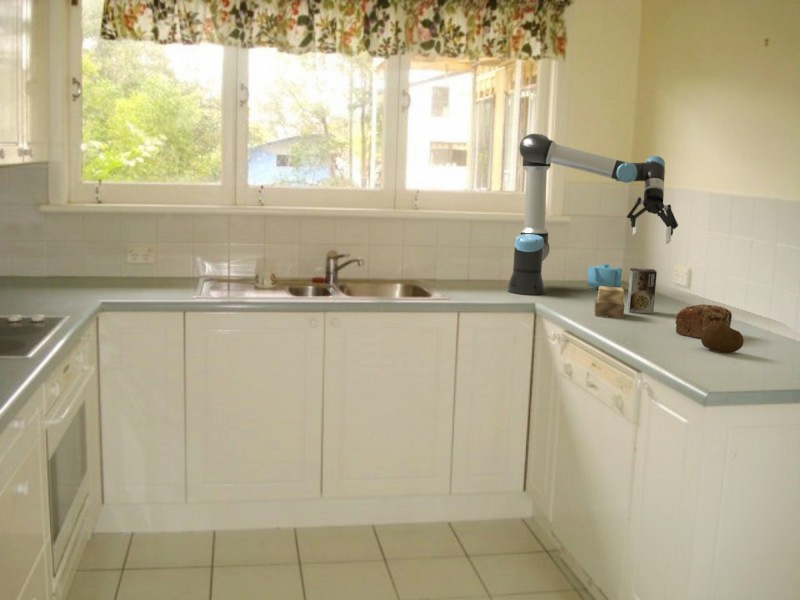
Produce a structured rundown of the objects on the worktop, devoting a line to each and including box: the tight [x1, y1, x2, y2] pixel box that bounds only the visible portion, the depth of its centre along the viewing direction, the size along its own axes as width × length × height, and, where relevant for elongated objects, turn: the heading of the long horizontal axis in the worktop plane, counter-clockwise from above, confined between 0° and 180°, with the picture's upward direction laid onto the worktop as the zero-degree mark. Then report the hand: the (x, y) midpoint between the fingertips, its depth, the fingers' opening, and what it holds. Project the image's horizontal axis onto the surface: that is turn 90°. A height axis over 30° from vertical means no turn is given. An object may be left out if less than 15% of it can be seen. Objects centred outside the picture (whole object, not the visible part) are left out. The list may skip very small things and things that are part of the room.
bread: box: [675, 303, 733, 339], centre depth 297 cm, size 19×11×10 cm, turn 130°
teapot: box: [587, 263, 623, 290], centre depth 385 cm, size 16×18×11 cm
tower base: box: [594, 298, 625, 319], centre depth 325 cm, size 10×10×5 cm
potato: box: [700, 323, 745, 354], centre depth 270 cm, size 8×12×9 cm
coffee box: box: [626, 267, 658, 315], centre depth 333 cm, size 9×6×16 cm
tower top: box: [597, 286, 625, 305], centre depth 324 cm, size 8×8×5 cm
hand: (651, 238), depth 346 cm, fingers open, 13 cm apart
